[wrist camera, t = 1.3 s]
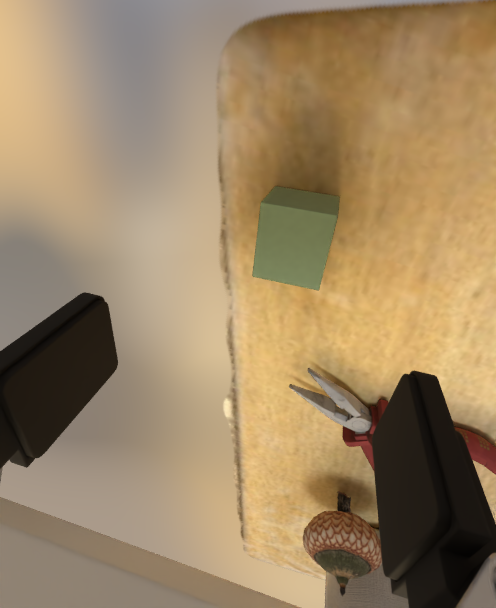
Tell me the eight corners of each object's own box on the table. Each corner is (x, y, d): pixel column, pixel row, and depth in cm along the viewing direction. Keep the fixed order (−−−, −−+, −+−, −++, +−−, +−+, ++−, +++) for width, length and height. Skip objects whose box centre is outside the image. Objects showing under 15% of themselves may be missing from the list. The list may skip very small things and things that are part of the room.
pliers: (340, 332, 27) (339, 352, 25) (515, 454, 29) (528, 481, 27) (267, 397, 34) (262, 417, 32) (414, 492, 36) (418, 517, 33)
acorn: (295, 479, 40) (282, 575, 32) (352, 465, 36) (353, 572, 28) (334, 515, 42) (331, 614, 34) (393, 506, 38) (405, 617, 30)
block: (266, 251, 25) (252, 276, 21) (275, 185, 22) (260, 202, 19) (323, 262, 24) (318, 291, 21) (339, 196, 22) (337, 215, 18)
